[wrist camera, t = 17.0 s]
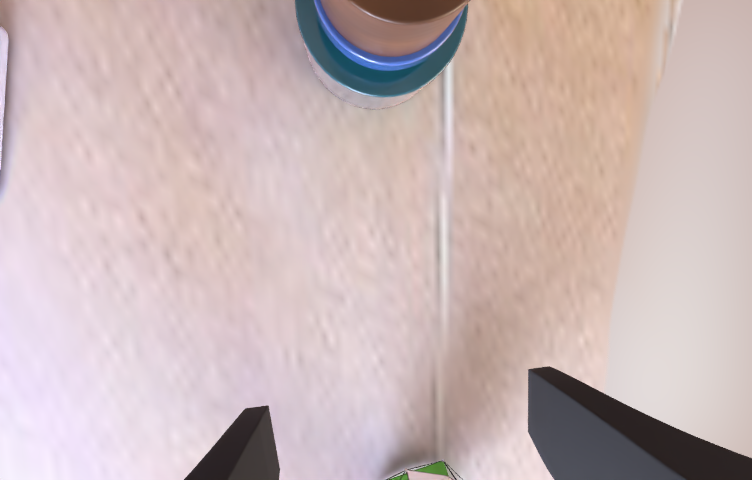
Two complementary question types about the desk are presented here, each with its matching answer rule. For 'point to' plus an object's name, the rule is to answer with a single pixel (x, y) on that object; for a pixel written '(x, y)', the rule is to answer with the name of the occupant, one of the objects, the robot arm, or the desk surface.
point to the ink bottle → (371, 61)
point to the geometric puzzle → (426, 473)
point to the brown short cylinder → (392, 23)
